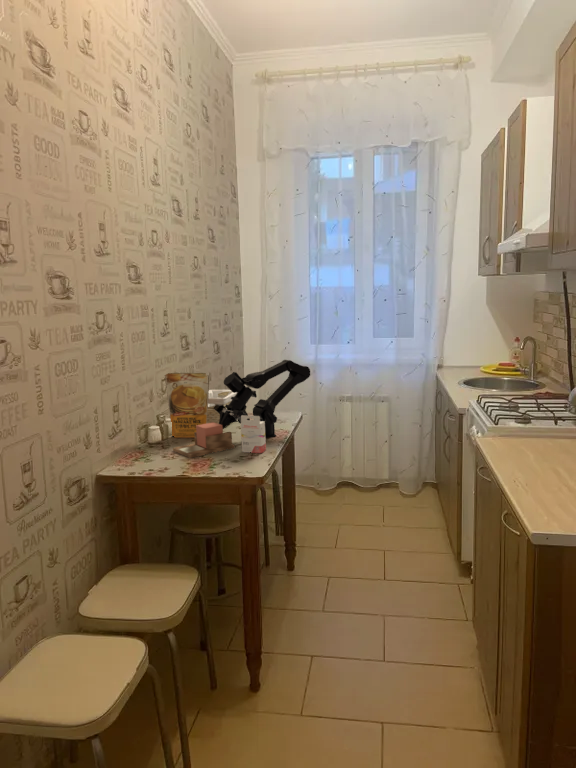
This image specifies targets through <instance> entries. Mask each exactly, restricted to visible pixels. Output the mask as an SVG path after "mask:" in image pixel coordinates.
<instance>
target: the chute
mask: <svg viewBox="0 0 576 768" xmlns="http://www.w3.org/2000/svg"><path fill="white" fill-rule="evenodd" d="M232 433H233V432H232V431H227V432H223V433H221V434H216V435H211V436H206V448H204V447H202V446H199V445H197V432H195V433H194V434H195V438H194V443H191V444H185V445H180V446H177V447H173V448H172V449H173V450H172V451H173V452H175V453H176V454H177V453H178V454H180V455H182V456H185V457H187V458H188V459H192V458H197V457H202V456H206V455H210V454H209V453H211V454H213V453H212V452H215V453H218V452H217V451H219V452H223V451H222V450H224V451H227V450H226V449H228V450H231V448H233V449H235V444H233V438H232V437H233V435H232ZM205 454H206V455H205Z"/></svg>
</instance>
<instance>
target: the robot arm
mask: <svg viewBox="0 0 576 768" xmlns="http://www.w3.org/2000/svg"><path fill="white" fill-rule="evenodd" d="M285 372H288V376H287V379H285V380H284V381H283V383H281V384H280V385H279V387H278V388H277V389H276V390H274V392H273V393H272V394H271V395H270V396H268V398H267V399H263V398H260V399H259V400H258V401H257V403H256V404H254V405H253V406H254V407H253V408H252V416H260V421H265V438H271V437H276V436H277V434H276V432H275V431H276V429H275V423H277V421H278V417H277V416H276V415H275V411H276V407H277V405H279V404H280V402H281V401H283V399H284V398H285V397H286V396H287V395H288V394H289V393H291V391H292V390H293V389H295V387H296V386H297V385H299V384H301V383H303V382H305V381H306V380H308V379H309V378H310V376H311V369H310V367H309V366H306V365H301V364H299V363H296V362H294V361H292V360H290V359H283V360H281V362H278V363H276V364H274V365H273V366H269V367H268V368H266V369H264V370H262V371H255V372H251V373H249V374H247V375H245V377H241V376H240V375H239V374H238V373H237V372H236V371H233V372H232V373H231V374H229V375H228V376H226V377H225V378H224V380H223V385H224V386H225V387H226V388H228V390H231V391H232V392H233V393H235V392H237V394H236V395H235V396H234V397H231V399H232V401H231V402H230V403H229V405H226V406H225V407H226V408H227V409H226V408H225V407H224V406H223V405H220V404H217V405H215V407H214V409H215V410H216V411H217V412H218V413H219V414H220V420H219V424H221V425H222V427H223V430H224V429H226V427H227V426H229V425H230V424H233V423H239V424H240V425H241V416H242V415H245V416H249V415H248V412H247V411H246V410H247V407H248V406H247V403H248V402H249V400H250V399H251V398H257V396H258V395H257V391H256V390H257V389H261V388H262V387H263V386H265V385H266V383H268V381H269V380H271V379H273V378H275V377H277V376H280V375H282V374H283V373H285ZM253 389H255V390H253ZM247 420H251V418H249V419H247Z"/></svg>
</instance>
